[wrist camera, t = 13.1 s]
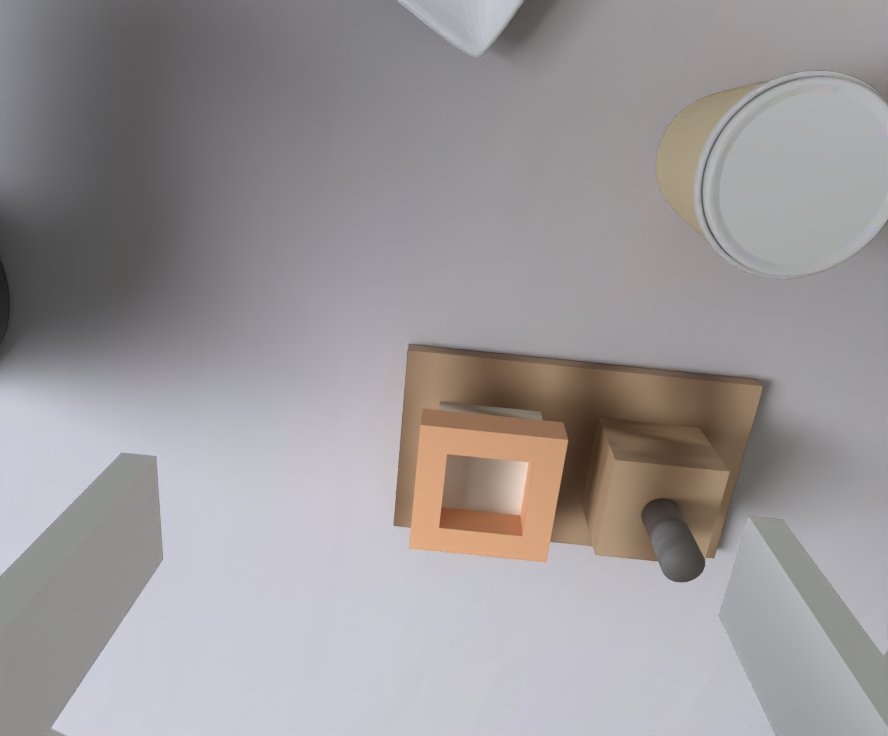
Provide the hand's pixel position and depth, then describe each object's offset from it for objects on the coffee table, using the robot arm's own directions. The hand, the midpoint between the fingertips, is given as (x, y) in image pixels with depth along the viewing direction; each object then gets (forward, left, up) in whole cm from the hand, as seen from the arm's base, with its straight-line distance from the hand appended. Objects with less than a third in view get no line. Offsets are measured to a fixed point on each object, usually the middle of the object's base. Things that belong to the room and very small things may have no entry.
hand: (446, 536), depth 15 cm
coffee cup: (+15, +7, -32) cm, 36 cm away
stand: (+9, -14, -32) cm, 36 cm away
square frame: (+3, -14, -27) cm, 31 cm away
